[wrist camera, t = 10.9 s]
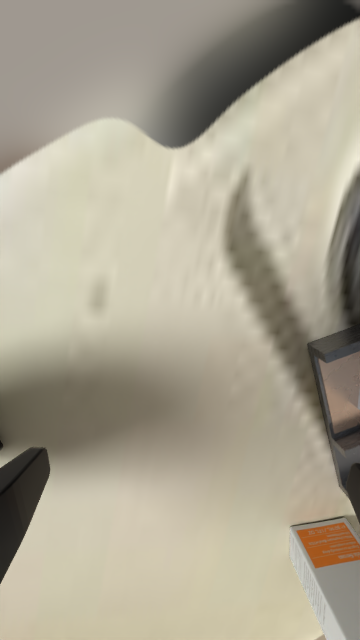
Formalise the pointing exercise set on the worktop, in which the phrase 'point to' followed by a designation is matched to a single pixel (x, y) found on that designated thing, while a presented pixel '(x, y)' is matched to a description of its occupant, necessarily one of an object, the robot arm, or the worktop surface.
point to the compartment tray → (339, 395)
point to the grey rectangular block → (359, 400)
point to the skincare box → (330, 574)
